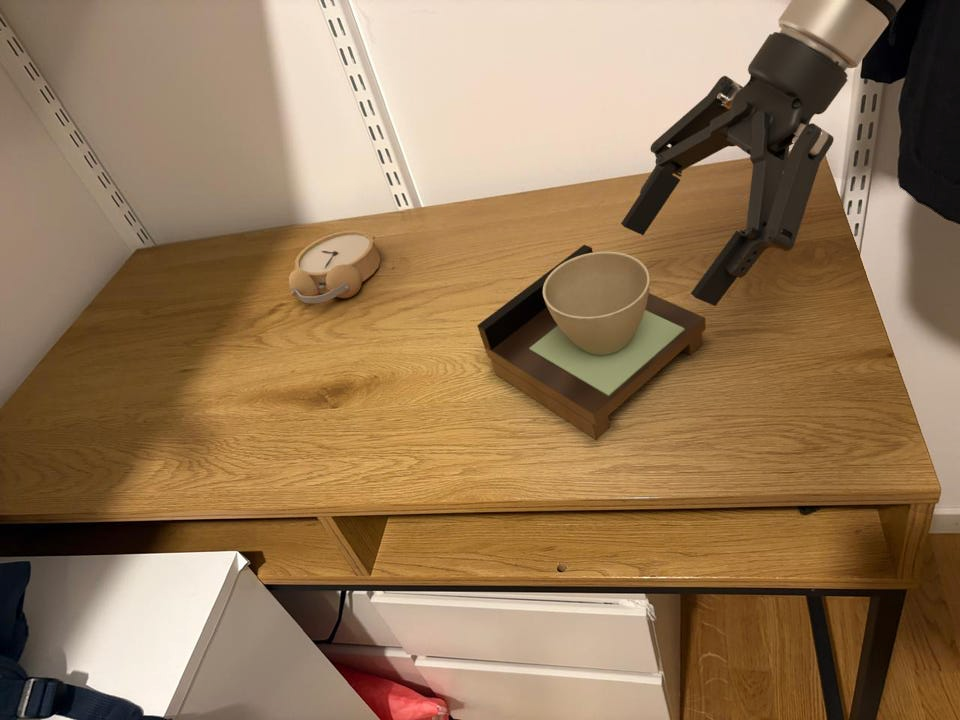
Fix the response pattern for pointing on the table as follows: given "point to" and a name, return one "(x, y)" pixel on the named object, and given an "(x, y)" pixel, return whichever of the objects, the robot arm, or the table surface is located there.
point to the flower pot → (598, 299)
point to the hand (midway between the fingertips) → (664, 262)
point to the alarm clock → (334, 266)
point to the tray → (582, 355)
